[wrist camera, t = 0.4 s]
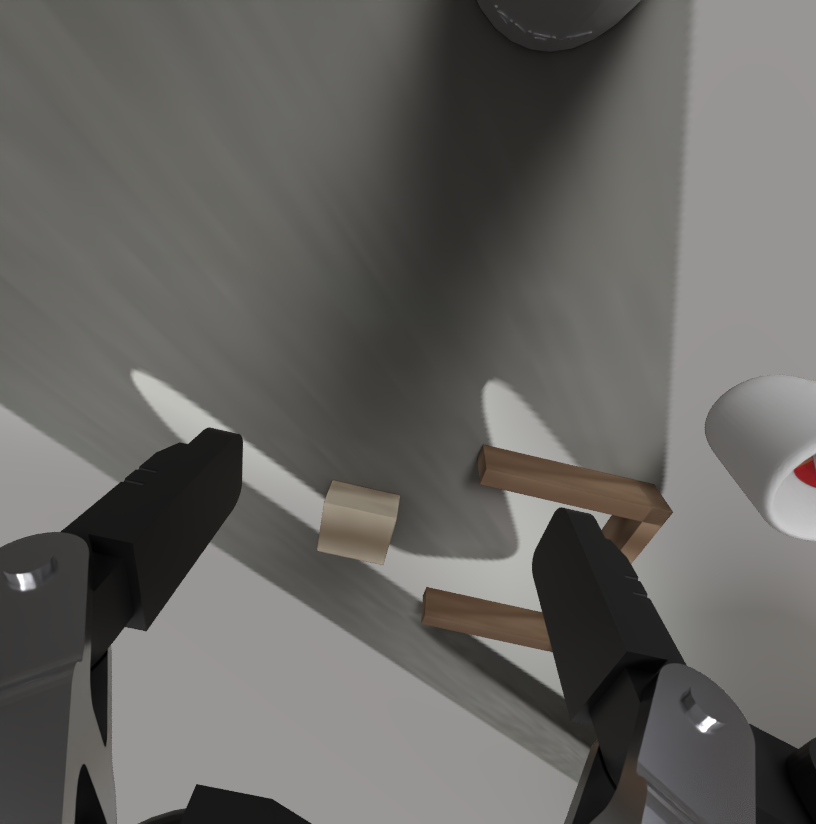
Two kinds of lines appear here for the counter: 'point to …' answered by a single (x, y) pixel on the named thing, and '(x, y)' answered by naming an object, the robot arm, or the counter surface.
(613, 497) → the wooden u-shaped bracket
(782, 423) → the cup
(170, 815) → the robot arm
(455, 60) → the counter surface
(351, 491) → the maple tile
